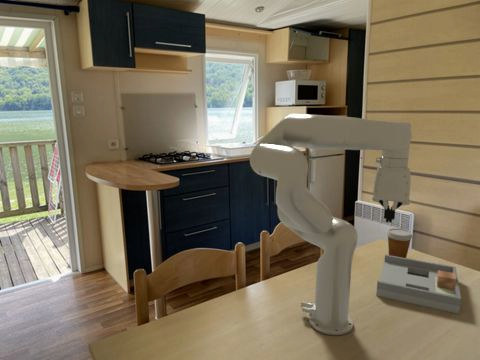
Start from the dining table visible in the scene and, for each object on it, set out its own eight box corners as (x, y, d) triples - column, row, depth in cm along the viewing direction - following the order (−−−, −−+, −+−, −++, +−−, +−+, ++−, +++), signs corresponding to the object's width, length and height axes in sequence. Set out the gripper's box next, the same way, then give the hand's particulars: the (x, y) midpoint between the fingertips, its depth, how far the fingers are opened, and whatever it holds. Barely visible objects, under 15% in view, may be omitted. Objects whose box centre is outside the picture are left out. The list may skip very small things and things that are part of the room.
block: (437, 287, 124) (438, 276, 123) (436, 280, 128) (438, 270, 128) (454, 290, 122) (455, 279, 121) (453, 283, 126) (454, 273, 125)
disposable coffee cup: (413, 264, 147) (416, 236, 145) (389, 264, 147) (392, 235, 145) (403, 254, 156) (406, 228, 154) (381, 254, 156) (383, 227, 154)
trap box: (376, 295, 123) (377, 281, 122) (384, 266, 145) (385, 254, 144) (459, 313, 113) (461, 298, 112) (454, 279, 135) (455, 266, 134)
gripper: (366, 162, 111) (362, 221, 115) (421, 166, 104) (415, 228, 108) (369, 159, 117) (365, 214, 121) (422, 163, 111) (415, 221, 115)
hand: (388, 221), depth 115 cm, fingers closed
